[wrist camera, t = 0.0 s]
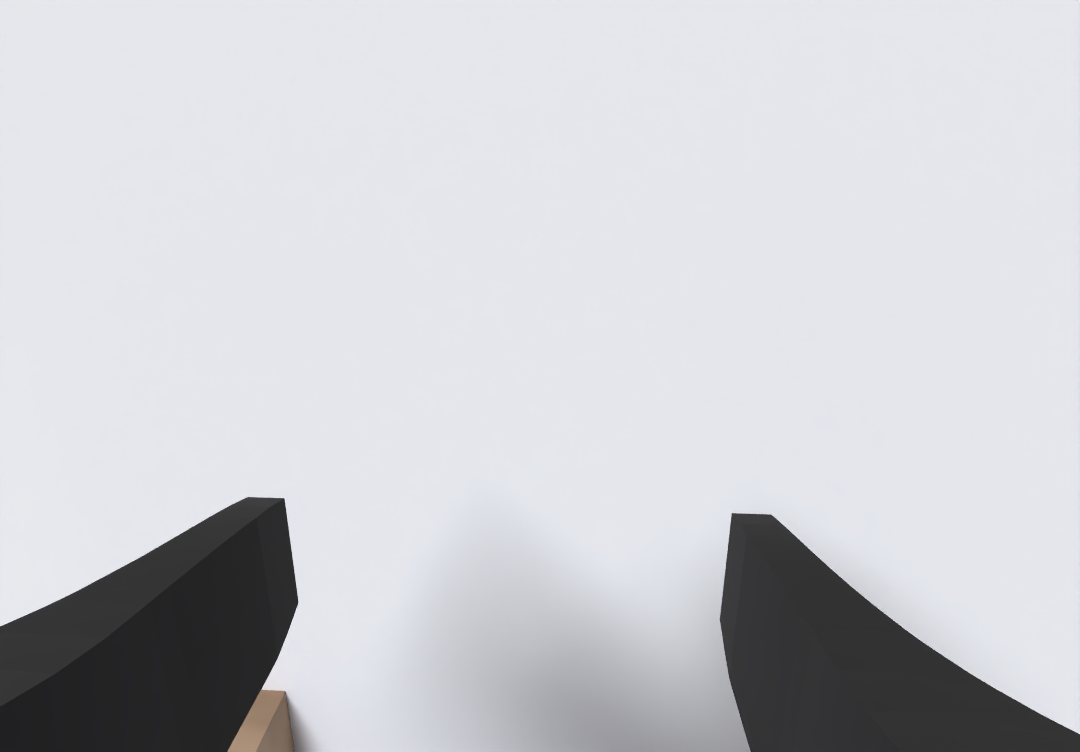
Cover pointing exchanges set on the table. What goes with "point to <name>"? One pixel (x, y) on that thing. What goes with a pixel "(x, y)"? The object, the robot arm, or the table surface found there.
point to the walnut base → (265, 726)
